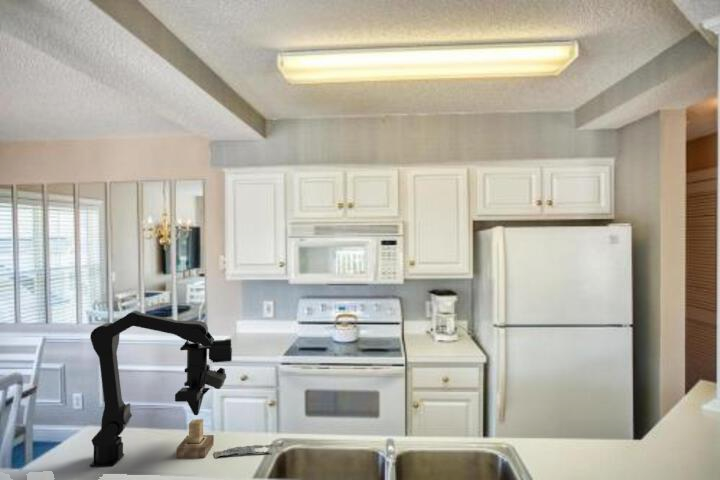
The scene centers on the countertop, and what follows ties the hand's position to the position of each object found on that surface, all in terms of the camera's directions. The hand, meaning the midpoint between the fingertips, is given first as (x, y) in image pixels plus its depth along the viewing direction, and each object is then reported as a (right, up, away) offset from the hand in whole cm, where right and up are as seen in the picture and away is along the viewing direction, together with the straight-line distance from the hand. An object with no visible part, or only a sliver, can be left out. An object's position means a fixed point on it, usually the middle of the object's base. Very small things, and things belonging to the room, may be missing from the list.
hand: (196, 414), depth 126 cm
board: (0, -11, 0) cm, 11 cm away
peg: (0, -11, 0) cm, 11 cm away
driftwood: (+16, -12, -1) cm, 20 cm away
